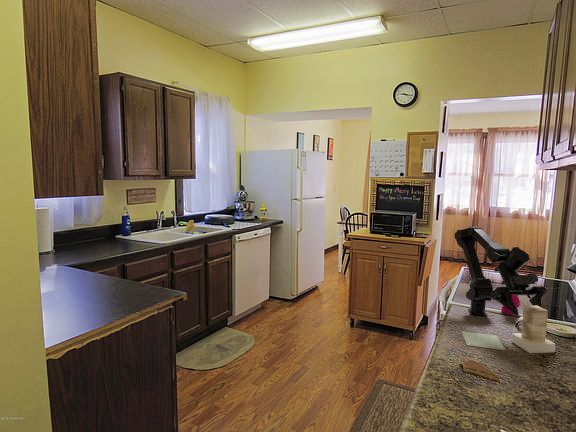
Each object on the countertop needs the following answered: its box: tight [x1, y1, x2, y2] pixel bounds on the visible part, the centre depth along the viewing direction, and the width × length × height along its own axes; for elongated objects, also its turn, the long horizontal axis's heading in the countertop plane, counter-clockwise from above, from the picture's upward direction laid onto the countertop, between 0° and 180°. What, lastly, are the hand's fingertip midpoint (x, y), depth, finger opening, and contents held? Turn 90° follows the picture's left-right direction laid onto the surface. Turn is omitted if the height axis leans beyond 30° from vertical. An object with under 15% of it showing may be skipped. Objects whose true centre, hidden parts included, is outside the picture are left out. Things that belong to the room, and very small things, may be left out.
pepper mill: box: [501, 272, 521, 315], centre depth 164 cm, size 7×7×20 cm
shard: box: [458, 359, 502, 382], centre depth 113 cm, size 11×8×2 cm
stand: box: [511, 332, 556, 354], centre depth 131 cm, size 9×9×3 cm
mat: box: [461, 330, 506, 351], centre depth 136 cm, size 12×12×1 cm
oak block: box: [521, 305, 549, 342], centre depth 130 cm, size 5×5×11 cm
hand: (529, 314), depth 132 cm, fingers open, 9 cm apart
